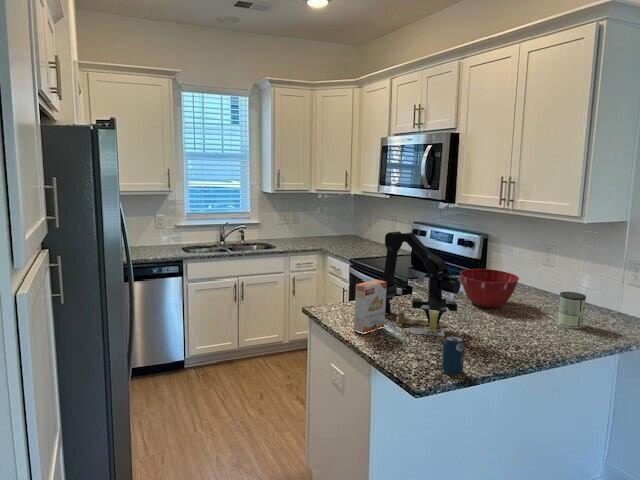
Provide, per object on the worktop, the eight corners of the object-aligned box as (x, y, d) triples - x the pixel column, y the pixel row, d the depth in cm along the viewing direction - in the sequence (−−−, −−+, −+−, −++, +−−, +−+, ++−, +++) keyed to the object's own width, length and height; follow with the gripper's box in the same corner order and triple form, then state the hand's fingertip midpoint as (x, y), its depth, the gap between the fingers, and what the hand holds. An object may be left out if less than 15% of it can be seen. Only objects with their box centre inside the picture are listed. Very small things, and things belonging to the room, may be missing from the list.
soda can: (465, 375, 156) (468, 341, 154) (446, 376, 155) (448, 342, 153) (457, 367, 163) (460, 334, 161) (438, 367, 162) (440, 334, 160)
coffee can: (555, 319, 216) (558, 290, 214) (580, 322, 213) (583, 292, 211) (558, 326, 207) (562, 296, 205) (584, 330, 204) (588, 298, 201)
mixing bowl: (517, 315, 222) (520, 284, 220) (456, 308, 232) (458, 278, 229) (515, 300, 248) (517, 271, 246) (459, 294, 258) (461, 266, 256)
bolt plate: (395, 332, 195) (395, 331, 195) (396, 327, 202) (396, 326, 202) (444, 337, 192) (444, 335, 192) (443, 331, 198) (443, 329, 198)
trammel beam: (395, 329, 199) (396, 316, 198) (396, 321, 210) (397, 308, 209) (443, 333, 196) (444, 319, 195) (442, 325, 206) (443, 312, 205)
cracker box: (364, 336, 191) (365, 286, 188) (353, 332, 195) (354, 283, 192) (385, 328, 200) (387, 281, 197) (374, 325, 205) (376, 278, 201)
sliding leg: (429, 332, 196) (430, 316, 195) (428, 324, 206) (429, 309, 205) (437, 333, 195) (438, 317, 194) (435, 324, 206) (436, 309, 205)
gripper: (413, 292, 192) (411, 328, 195) (459, 295, 189) (457, 332, 191) (412, 285, 203) (411, 319, 206) (457, 288, 200) (454, 323, 202)
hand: (433, 323), depth 201 cm, fingers closed on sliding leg, 3 cm apart
